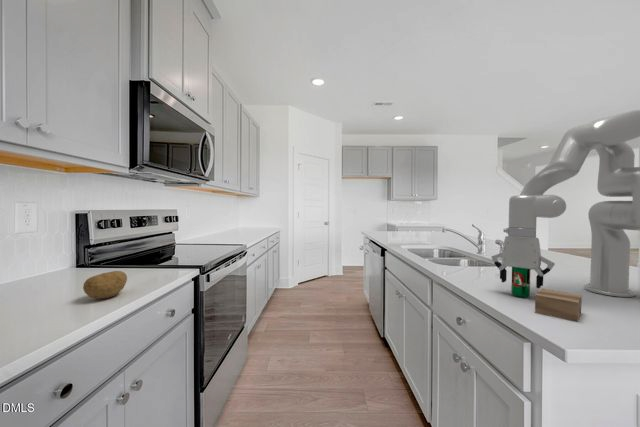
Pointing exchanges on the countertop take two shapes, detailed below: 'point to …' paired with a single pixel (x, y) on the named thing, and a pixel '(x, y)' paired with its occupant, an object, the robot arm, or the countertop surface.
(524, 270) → the soda can
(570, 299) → the walnut block
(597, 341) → the countertop surface
